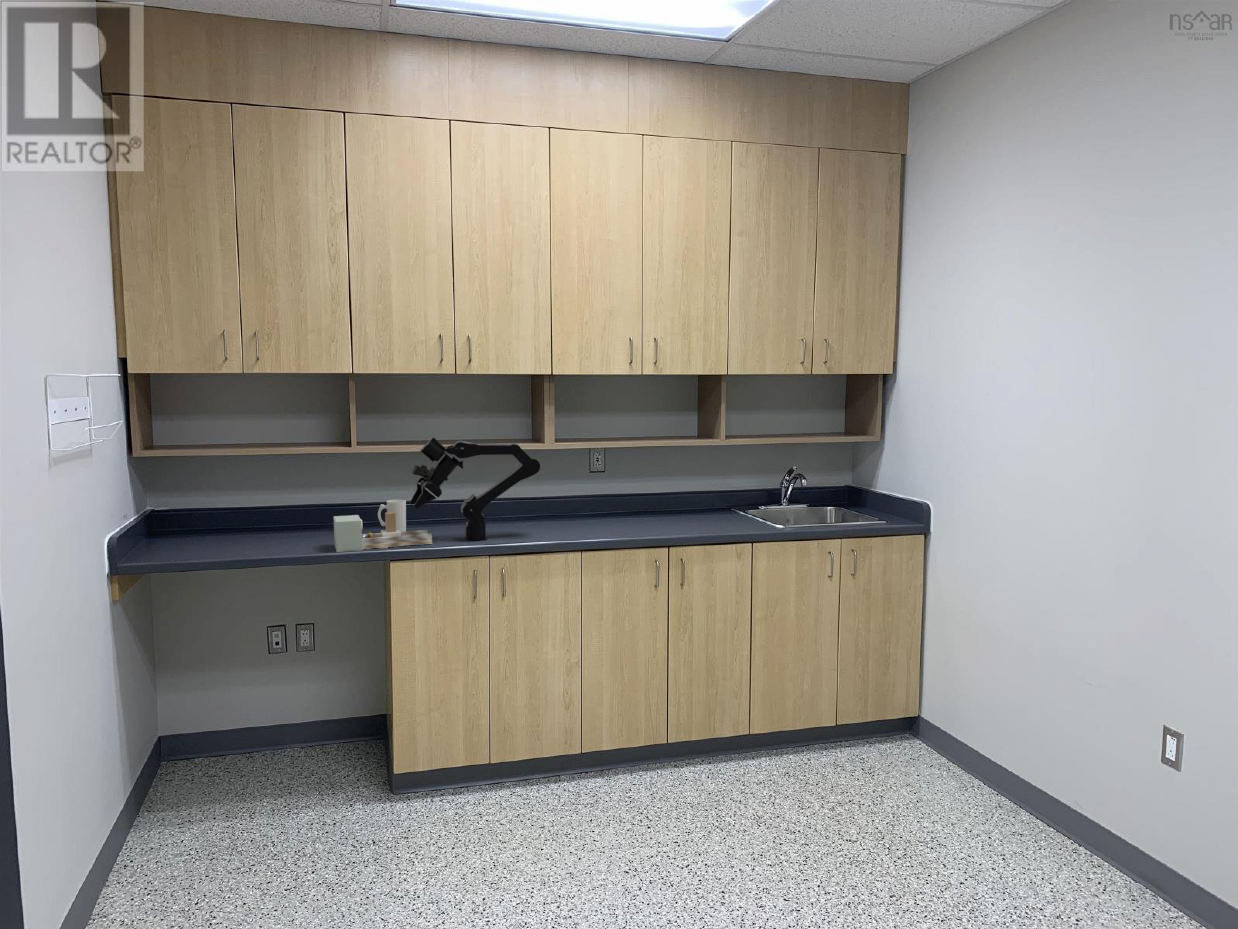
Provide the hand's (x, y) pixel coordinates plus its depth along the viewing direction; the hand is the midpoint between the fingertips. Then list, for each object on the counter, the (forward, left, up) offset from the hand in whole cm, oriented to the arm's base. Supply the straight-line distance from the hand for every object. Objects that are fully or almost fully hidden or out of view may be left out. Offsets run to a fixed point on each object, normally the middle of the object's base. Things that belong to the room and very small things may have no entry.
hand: (412, 505), depth 286 cm
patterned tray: (+6, 0, -13) cm, 14 cm away
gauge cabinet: (+21, 0, -13) cm, 25 cm away
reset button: (+17, 0, -11) cm, 20 cm away
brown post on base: (+8, 0, -12) cm, 14 cm away
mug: (+5, -21, -13) cm, 25 cm away
